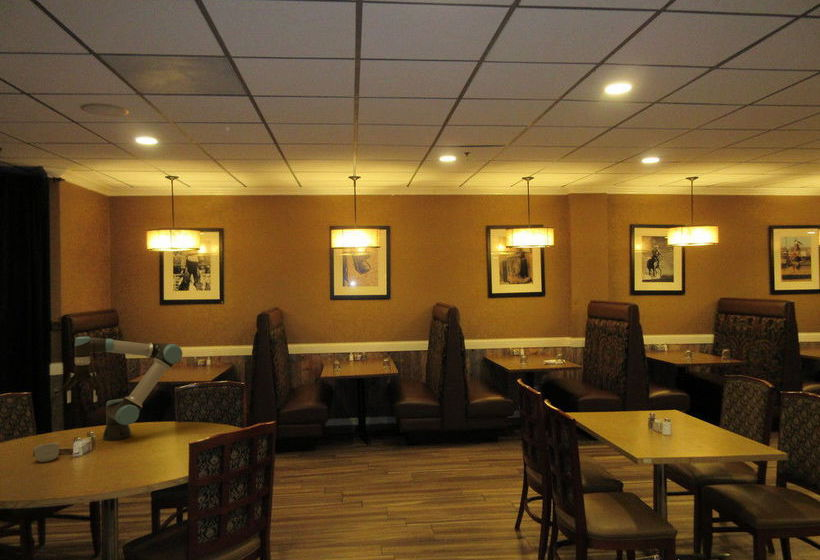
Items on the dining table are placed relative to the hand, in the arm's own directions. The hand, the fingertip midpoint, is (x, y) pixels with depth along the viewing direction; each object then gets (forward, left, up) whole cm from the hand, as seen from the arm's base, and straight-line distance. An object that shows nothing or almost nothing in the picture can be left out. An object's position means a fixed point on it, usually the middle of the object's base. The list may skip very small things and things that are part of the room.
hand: (82, 402), depth 302 cm
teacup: (+10, +16, -27) cm, 33 cm away
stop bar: (+10, +7, -27) cm, 29 cm away
